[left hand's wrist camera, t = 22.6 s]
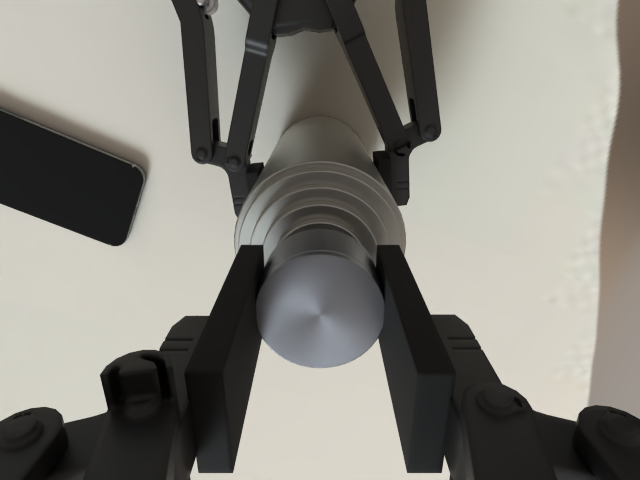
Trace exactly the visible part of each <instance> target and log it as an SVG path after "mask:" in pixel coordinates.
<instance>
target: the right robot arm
mask: <svg viewBox="0 0 640 480" xmlns="http://www.w3.org/2000/svg"><path fill="white" fill-rule="evenodd" d="M238 1H239V2H240V4H241V5H242V6H243V7H244V8H245V9H246V11H247V12H248V13H249V14H250V18H249V23H248V29H247V34H246V40H245V53H244V58H243V63H242V69H241V74H240V79H239V84H238V89H237V95H236V100H235V105H234V110H233V116H232V121H231V126H230V131H229V137H228V142H227V143H226V142H222V141H221V139H220V121H219V104H218V87H217V69H216V52H215V35H214V27H213V22H212V18H211V15H213V14H214V13H215V12H216V11H217V9H218V5H219V4H218V0H172V2H173V5H174V7H175V10H176V12H177V15H178V17H179V20H180V22H181V34H182V46H183V58H184V70H185V82H186V94H187V106H188V118H189V130H190V142H191V154H192V157H193V159H194V160H195V161H196V162H197V163H199V164H206V163H208V164H212V165H216V166H219V167H221V168H223V169H224V170H225V171H226V172H227V174H228V177H229V182H230V188H231V193H232V198H233V204H234V210H235V214H236V216H237V217H238V215H239V213H240V211H241V208H242V206H243V204H244V202H245V201H246V199H247V197H248V195H249V193H250V192H251V190H252V188H253V186H254V184H255V183H256V181H257V179H258V177H259V176H260V174H261V172H262V170H263V168H264V164H263V162H262V163H252V164H251V163H250V158H251V156H252V154H251V152H252V147H253V142H254V138H255V133H256V128H257V124H258V119H259V114H260V110H261V105H262V100H263V96H264V91H265V86H266V82H267V77H268V72H269V68H270V63H271V58H272V55H273V52H274V48H275V44H276V39H277V36H278V37H284V36H292V35H294V34H297V33H299V32H302V31H304V30H307V31H313V32H318V33H321V32H330V31H332V30H333V29H334V31H335V33H336V36H337V38H338V40H339V42H340V45H341V46H342V48H343V50H344V53H345V55H346V57H347V60H348V62H349V64H350V66H351V69H352V71H353V73H354V75H355V78H356V80H357V82H358V85H359V87H360V89H361V91H362V94H363V96H364V98H365V101H366V103H367V105H368V107H369V110H370V112H371V114H372V117H373V119H374V121H375V123H376V126H377V128H378V130H379V133H380V135H381V137H382V139H383V142H384V144H385V151H374V152H373V163H374V165H375V167H376V168H377V170H378V172H379V174H380V175H381V177H382V179H383V181H384V183H385V184H386V186H387V188H388V190H389V191H390V193H391V195H392V197H393V198H394V200H395V202H396V204H397V206H402V205H407V202H408V200H409V155H410V153H411V152H412V150H413V149H414V148H415V147H417V146H419V145H421V144H423V143H426V142H432V141H434V140H436V139H437V138H438V137H439V136H440V134H441V123H440V115H439V106H438V98H437V89H436V81H435V73H434V64H433V56H432V47H431V39H430V30H429V22H428V13H427V5H426V0H395V12H396V21H397V28H398V35H399V42H400V49H401V56H402V63H403V70H404V77H405V84H406V91H407V97H408V104H409V111H410V118H411V122H410V123H408V124H406V125H404V126H403V125H402V122H401V120H400V117H399V115H398V113H397V110H396V108H395V105H394V103H393V101H392V98H391V96H390V93H389V91H388V89H387V86H386V84H385V81H384V79H383V77H382V74H381V72H380V69H379V67H378V64H377V62H376V60H375V57H374V55H373V52H372V50H371V48H370V45H369V43H368V40H367V38H366V35H365V32H364V28H363V26H362V23H361V21H360V18H359V16H358V13H357V11H356V9H355V6H354V4H355V2H356V0H238Z"/></svg>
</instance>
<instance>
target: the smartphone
mask: <svg viewBox="0 0 640 480" xmlns="http://www.w3.org/2000/svg"><path fill="white" fill-rule="evenodd" d="M145 180H146V178H145V174H144V172H143V170H142V169H141V168H140V167H139V166H138V165H136V164H134V163H131V162H129V161H126V160H124V159H122V158H119V157H117V156H114V155H112V154H110V153H107V152H105V151H102V150H100V149H98V148H95V147H93V146H90V145H88V144H86V143H83V142H81V141H78V140H76V139H73V138H71V137H69V136H66V135H64V134H61V133H59V132H57V131H54V130H52V129H49V128H47V127H45V126H42V125H40V124H37V123H35V122H33V121H30V120H28V119H25V118H23V117H20V116H18V115H16V114H13V113H11V112H8V111H6V110H4V109H1V108H0V204H3V205H6V206H8V207H11V208H14V209H16V210H19V211H21V212H24V213H27V214H29V215H32V216H35V217H37V218H40V219H42V220H45V221H48V222H50V223H53V224H56V225H58V226H61V227H63V228H66V229H69V230H71V231H74V232H77V233H79V234H82V235H84V236H87V237H90V238H92V239H95V240H98V241H100V242H103V243H105V244H108V245H111V246H119V245H122V244H123V243H124V242H125V241H126V240H127V239H128V237H129V234H130V230H131V227H132V224H133V221H134V217H135V214H136V211H137V207H138V204H139V201H140V197H141V194H142V191H143V188H144V184H145Z"/></svg>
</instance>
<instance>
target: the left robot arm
mask: <svg viewBox="0 0 640 480" xmlns="http://www.w3.org/2000/svg"><path fill="white" fill-rule="evenodd" d="M264 268H265V266H264V247H263V245H241V246H240V248H239V251H238V253H237V255H236V257H235V259H234V262H233V264H232V266H231V268H230V271H229V273H228V275H227V277H226V280H225V282H224V284H223V286H222V289H221V291H220V293H219V295H218V298H217V300H216V302H215V304H214V307H213V309H212V311H211V313H210V315H209V316H185V317H184V318H182V319H181V320H180V321H179V322H177V323H176V324H175V325H173V326H172V328H171V330H170V331H169V333H168V335H167V337H166V338H165V341H164V342H163V344H162V345H161V347H160V351H157V350H141V351H136V352H132V353H128V354H126V355H124V356H122V357H119V358H117V359H115V360H114V361H113V362H111V363H110V364H109V365H107V366H106V367H105V369H104V370H103V372H102V373H101V374H100V377H101V381H102V386H103V390H104V394H105V398H106V402H107V407H108V410H107V412H106V413H103V414H100V415H97V416H93V417H89V418H85V419H81V420H76V421H72V422H68V423H64V421H63V417H62V415H61V414H60V413H59V412H58V411H57V410H56V409H52V408H47V407H39V408H30V409H27V410H24V411H21V412H18V413H15V414H13V415H11V416H10V417H8V418H6V419H4V420H2V421H0V480H190V474H191V470H192V467H193V464H194V461H195V458H197V465H198V472H199V473H233V470H234V466H235V461H236V456H237V452H238V447H239V442H240V438H241V433H242V429H243V424H244V419H245V415H246V410H247V405H248V401H249V396H250V391H251V387H252V382H253V377H254V373H255V368H256V363H257V359H258V354H259V349H260V345H261V340H262V337H261V335H260V333H259V331H258V328H257V318H256V297H257V293H258V290H259V286H260V282H261V279H262V275H263V272H264ZM376 271H377V274H378V278H379V281H380V285H381V289H382V292H383V296H384V300H385V307H384V322H383V329H382V331H381V333H380V335H379V337H378V339H379V344H380V348H381V353H382V357H383V362H384V367H385V371H386V376H387V381H388V385H389V390H390V395H391V399H392V404H393V409H394V413H395V418H396V423H397V427H398V432H399V437H400V441H401V446H402V451H403V455H404V460H405V465H406V469H407V473H442V467H443V460H444V455H445V458H446V461H447V464H448V468H449V471H450V480H640V419H638V418H636V417H635V416H633V415H631V414H629V413H627V412H625V411H622V410H619V409H616V408H613V407H608V406H598V405H595V406H590V407H585V408H584V409H583V410H582V411H581V412H580V413H579V415H578V419H577V422H575V421H571V420H567V419H563V418H558V417H554V416H550V415H546V414H543V413H539V412H536V411H534V410H532V408H531V406H530V404H529V403H528V401H527V400H526V399H525V398H524V397H523V396H522V395H521V394H519V393H518V392H517V391H516V390H514V389H511V388H509V387H507V386H505V385H503V384H502V383H501V381H500V379H499V378H498V376H497V374H496V373H495V371H494V369H493V367H492V366H491V364H490V362H489V360H488V359H487V357H486V355H485V353H484V352H483V350H481V346H480V345H479V343H478V341H477V340H475V336H474V334H473V333H472V331H471V329H470V327H469V326H468V325H467V324H466V323H465V322H464V321H462V320H461V319H460V318H458V317H457V316H456V315H430V313H429V310H428V308H427V306H426V304H425V301H424V299H423V297H422V295H421V292H420V290H419V288H418V286H417V284H416V281H415V279H414V277H413V275H412V272H411V270H410V268H409V266H408V263H407V261H406V259H405V257H404V254H403V252H402V250H401V248H400V245H377V252H376Z"/></svg>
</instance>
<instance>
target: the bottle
mask: <svg viewBox="0 0 640 480" xmlns="http://www.w3.org/2000/svg"><path fill="white" fill-rule="evenodd" d="M312 229H328V230H334V231H338V232H341V233H344V234H346V235H348V236H350V237H352V238H354V239H355V240H356V241H358V242H359V243H360V244H361V245H362V246H363V247H364V248H365V249H366V250H367V251H368V253H369V254H370V256H371V258H372V259H373V262H374V264H375V267H376V252H377V245H400V248H401V250H402V252H403V254H405V247H406V233H405V226H404V222H403V218H402V215H401V212H400V210H399V208H398V206H397V204H396V202H395V200H394V198H393V197H392V195H391V193H390V191H389V190H388V188H387V186H386V184H385V183H384V181H383V179H382V177H381V175H380V174H379V172H378V170H377V168H376V167H375V165H374V163H373V161H372V159H371V158H370V156H369V154H368V152H367V151H366V149H365V147H364V145H363V144H362V142H361V140H360V138H359V137H358V135H357V134H356V133H355V131H354V130H353V129H352V128H351V127H349V126H348V125H347V124H345V123H344V122H342V121H340V120H338V119H335V118H332V117H328V116H312V117H307V118H305V119H302V120H300V121H298V122H296V123H295V124H293V125H292V126H291V127H289V128H288V129H287V130H286V131H285V133H284V134H283V135H282V137H281V138H280V140H279V142H278V144H277V145H276V147H275V149H274V151H273V152H272V154H271V156H270V158H269V160H268V161H267V163H266V165H265V167H264V168H263V170H262V172H261V174H260V176H259V177H258V179H257V181H256V183H255V184H254V186H253V188H252V190H251V192H250V193H249V195H248V197H247V199H246V201H245V202H244V204H243V206H242V208H241V211H240V213H239V215H238V219H237V222H236V226H235V234H234V247H235V253H236V255H237V253H238V251H239V248H240V246H241V245H263V247H264V266H265V265H266V262H267V260H268V258H269V256H270V255H271V253H272V252H273V250H274V249H275V248H276V247H277V246H278V245H279V244H280V243H281V242H282V241H284V240H285V239H287V238H288V237H290V236H292V235H294V234H296V233H299V232H302V231H306V230H312Z"/></svg>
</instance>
